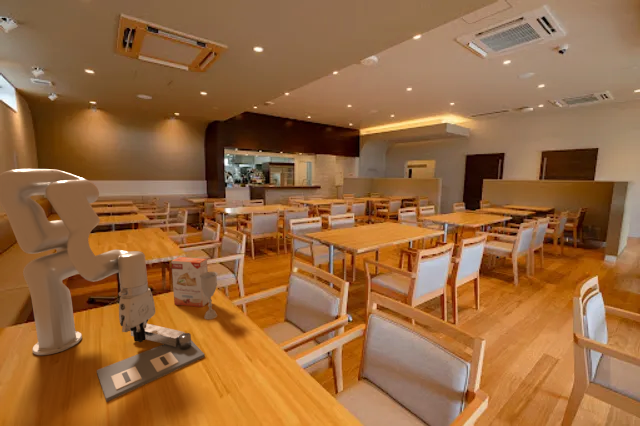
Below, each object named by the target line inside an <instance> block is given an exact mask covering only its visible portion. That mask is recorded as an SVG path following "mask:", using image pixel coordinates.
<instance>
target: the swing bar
mask: <svg viewBox="0 0 640 426" xmlns="http://www.w3.org/2000/svg"><path fill="white" fill-rule="evenodd" d="M191 335H192V334H191V333H190V332H185V331H180V330H177V329H173V328H169V327H164V326H159V325H155V324H149V323H147V324H146V328H145V338H146V339H145V340H147V341H151V342H155V343H160V344H162V345H163V344H167V345H171V346H175V347H176V346H178V345H179V347H180V349H181V350H186V349H188V348H190V347H191V340H192V336H191ZM130 336H132V337H134V335H133V331H130Z"/></svg>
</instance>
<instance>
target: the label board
mask: <svg viewBox="0 0 640 426" xmlns="http://www.w3.org/2000/svg"><path fill="white" fill-rule="evenodd" d="M203 358H206V357H205V353H204V352H203V350H201V348H200V347H198V345H197V344H195V342H194V341H193V340H192V339H191V347H190V348H188V349H186V350H181V349H180V347H179V345H178V346H176V347H175V346H171V345H167V344H163V343H162V344H159V345H158V346H156V347H153V348H151V349H148V350H146V351H143V352H142V351H141V352H140V353H138V354H134V355H132V356H130V357H127V358H124V359H121V360H119V361H117V362H115V363H111V364H109V365H106V366H104V367H101V368H99V369H96V375H97V378H98V381H99V383H100V387H101V389H102V393H103V395H104V399H105V402H106V403H107V402H108V403H109V401H112V400H114V399H116V398H118V397H120V396H123V395H125V394H127V393H129V392H131V391H133V390H136V389H138V388H141V387H142V386H144V385H147V384H149V383H151V382H153V381H155V380H157V379H160V378H161V377H164V376H166V375H168V374H170V373H173V372H175V371H177V370H179V369H181V368H184V367H186V366H188V365H190V364H193V363H194V362H196V361H199V360H200V359H203Z"/></svg>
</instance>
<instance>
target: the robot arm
mask: <svg viewBox="0 0 640 426" xmlns="http://www.w3.org/2000/svg"><path fill="white" fill-rule="evenodd" d="M43 195H44V196H46V199H47V200H48V201H49V204H50V205H51V207H52V208H53V210H54V211H55V212H56V214H57V215H58V217H59V218H60V219H59V220H58V219H56V220H51V221H50V220H48V217H47V215H46V212H45V209H44V208H43V207H42V206H41V204H39V203H38V202H37V201H35V200H34V199H32V198H31V197H32V196H33V197H34V196H43ZM99 196H100V191H99V189H98V187H97V186H96V184H94V183H93V182H92V181H90V180H88V179H86V178H84V177H80V176H78V175H75V174H72V173H70V172H67V171H63V170H59V169H55V168H54V169H49V168H18V169H11V170H10V169H9V170H7V171H3V172H1V173H0V206H1V209H2V210H3V211H4V213H5V214H6V216H7V219H8V222H9V225H10V227H11V229H12V231H13V234H14V236H15V239H16V242H17V244H18V246H19V248H20V249H21V250H22V251H23V252H24V253H25V254H30V255H31V254H40V253H45V252H48V251H51V250H55V251H56V252H52V253H49V254H46V255H45V254H44V255H43V256H39V257H37V258H34V259H32V260H30V261H29V262H28V263H27V264H26V265H25V266H24V267H23V271H22V275H23V278H24V281H25V282H26V283H25V284H26V285H27V288H28V291H29V294H30V299H31V303H32V310H33V318H34V323H35V330H36V337H37V343H35V344H34V345H33V347H32V353H33V354H34V355H36V356H47V355H53V354H57V353H60V352H61V353H62V352H63V351H67V350H68V349H70V348H72V347H75V345H77V344H78V343H79V342H80V341H81V340H82V338H83V335H82V333H81V332H79V331H76V328H75V327H76V326H75V325H76V324H75V318H74V311H73V310H74V309H73V301H72V295H71V291H70V289H69V287H67V285H66V284H64V283H63V280H65V279H68V278H69V277H72V276H75V275H78V274H79V275H80V276H81V277H82V278H83V279H85V280H86V281H88V282H98V281H99V282H100V281H102V280H104V279H105V278H108V277H110V276H112V275H115V274H118V277H119V285H120V288H119V289H120V291H119V292H118V296H119V303H118V319H119V324H120V326H121V327H122V328H121V329H122V330H121V332H122V333H128V332H131V331H133V335H134V336H133V341H134V342H138V343H143V342H144V341H146V340H147V339H146V338H145V328H146V324H148V321H149V320H150V319H151V318H152V317H154V316H155V314H156V306H155V299H154V296H153V293H152V291H151V288H149V285H148V283H149V282H148V273H147V265H146V264H147V263H146V262H147V261H146V255H145V253H144V252H142V251H138V250H137V251H136V250H134V251H132V250H131V251H128V250H122V249H112V250H108V251H105V252H102V253H100V254H97V255H95V254H94V252H93V251H92V250H93V249H91V246H90V243H89V238H90V234H91V232H92V230H94V229H95V228H96V227H97V226H98V225H99V224H100V222H101V219H100V216H98V214H97V213H96V211H95V210H94V208H93V207H92V205H91V204H93V203H95V202H96V201H98V199H99Z"/></svg>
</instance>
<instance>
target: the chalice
mask: <svg viewBox="0 0 640 426" xmlns="http://www.w3.org/2000/svg"><path fill="white" fill-rule="evenodd" d="M199 277H200V278H201V288H202V290H203V292H204V294H205V295H206V297H208V298H209V300H208V305H207V307H208V310H207V311H206V312H205V314H204V319H205V320H214V319H215V318H217V317H218V314H217V312H216V310H215V309H213V308H212V306H213V303H212V297H213V296H214V294H215V292H216V290H217V286H218V280H217V279H218V278H217V277H218V272H216V271H208V272H205V273H203V274H201V275H200V276H199Z"/></svg>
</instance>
